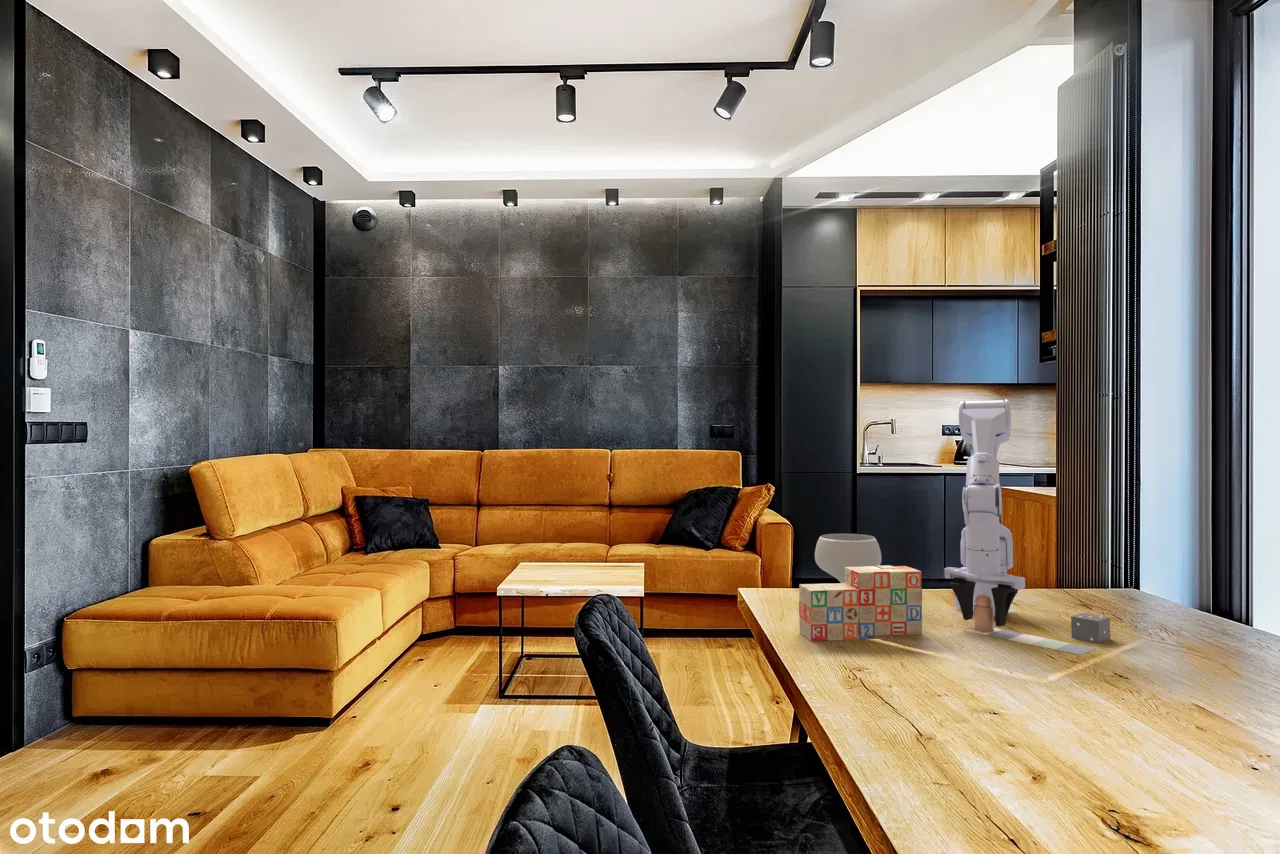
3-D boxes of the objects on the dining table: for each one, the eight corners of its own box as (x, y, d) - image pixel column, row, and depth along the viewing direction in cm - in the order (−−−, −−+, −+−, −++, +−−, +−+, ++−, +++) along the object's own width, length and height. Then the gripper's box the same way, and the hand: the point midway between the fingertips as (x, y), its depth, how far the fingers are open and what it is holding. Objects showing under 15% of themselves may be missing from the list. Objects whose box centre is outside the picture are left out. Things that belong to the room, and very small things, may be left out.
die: (1071, 641, 134) (1070, 615, 134) (1083, 637, 137) (1082, 612, 137) (1099, 647, 130) (1098, 620, 130) (1111, 643, 133) (1110, 616, 133)
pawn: (971, 629, 140) (970, 594, 140) (980, 626, 142) (979, 591, 142) (987, 633, 138) (987, 596, 138) (997, 630, 140) (996, 594, 140)
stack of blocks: (810, 642, 135) (809, 573, 136) (798, 633, 142) (798, 567, 142) (923, 637, 138) (922, 570, 138) (907, 628, 144) (906, 564, 144)
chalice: (868, 598, 171) (867, 532, 171) (892, 612, 157) (891, 540, 157) (807, 600, 170) (806, 533, 170) (826, 614, 156) (825, 541, 156)
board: (965, 633, 140) (965, 630, 140) (982, 628, 143) (982, 625, 143) (1080, 658, 124) (1080, 654, 124) (1096, 651, 127) (1096, 648, 127)
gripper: (935, 546, 143) (936, 618, 143) (1010, 555, 132) (1011, 633, 132) (955, 543, 148) (956, 612, 148) (1030, 551, 136) (1031, 627, 136)
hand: (984, 622), depth 140 cm, fingers open, 6 cm apart
